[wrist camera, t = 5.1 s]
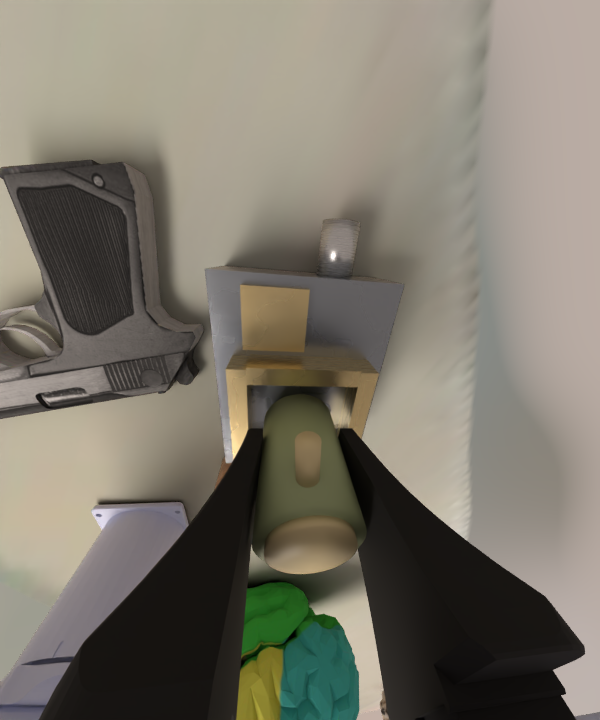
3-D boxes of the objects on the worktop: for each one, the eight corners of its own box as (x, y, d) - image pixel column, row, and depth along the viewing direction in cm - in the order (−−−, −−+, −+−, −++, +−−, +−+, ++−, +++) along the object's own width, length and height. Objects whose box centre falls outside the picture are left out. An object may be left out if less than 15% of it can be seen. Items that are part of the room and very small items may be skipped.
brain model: (337, 559, 28) (377, 834, 15) (350, 608, 37) (383, 811, 23) (171, 581, 30) (71, 850, 16) (220, 623, 38) (182, 823, 25)
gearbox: (342, 425, 18) (362, 480, 14) (235, 425, 17) (220, 485, 13) (384, 232, 12) (446, 218, 8) (220, 215, 11) (180, 187, 7)
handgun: (-210, 222, 10) (-11, 413, 16) (-316, 214, 8) (-50, 433, 14) (149, 166, 10) (223, 374, 16) (122, 147, 9) (216, 389, 14)
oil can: (329, 443, 13) (362, 572, 8) (266, 447, 13) (256, 584, 7) (335, 365, 11) (389, 476, 5) (258, 369, 10) (235, 489, 5)
